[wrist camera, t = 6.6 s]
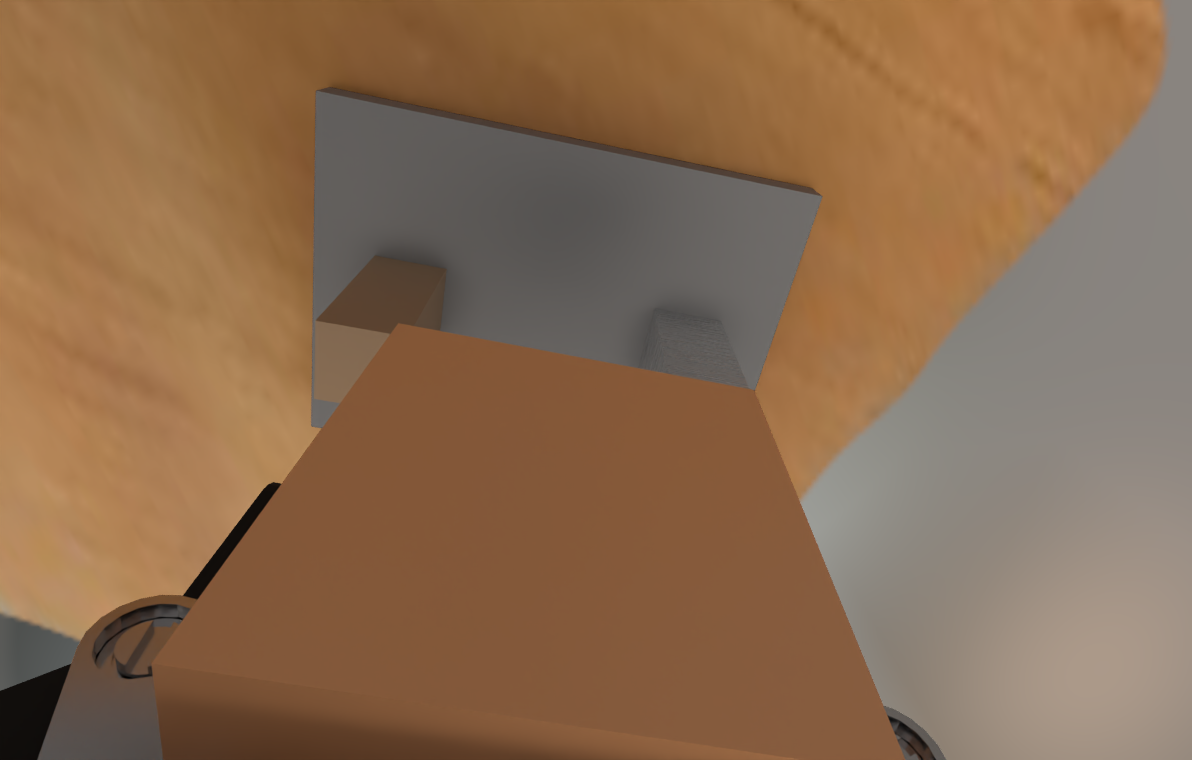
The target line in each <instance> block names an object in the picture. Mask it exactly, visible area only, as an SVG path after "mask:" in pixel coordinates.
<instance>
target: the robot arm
mask: <svg viewBox="0 0 1192 760" xmlns="http://www.w3.org/2000/svg"><path fill="white" fill-rule="evenodd" d="M280 485H281V484H280V483H274V482H273V483H271V484H268V485H267V486H266V487H265V488H264V489H263V491H262V492H261V493H260V494H259V496H258V497H257V498H256V500H255V501H254V502H253V504H252V505H251V506H250V508H249V509H248V510H247V512H246V513H245V514H244V516H243V517H242V518H241V520H240V521H239V522H238V524H237V525H236V526H235V528H234V529H233V530H232V531H231V533H230V534H229V535H228V537H227V538H226V539H225V541H224V542H223V543H222V545H221V546H220V547H219V549H218V550H217V551H216V553H215V554H214V555H213V557H212V558H211V559H210V561H209V562H208V563H207V564H206V566H205V567H204V568H203V570H202V571H201V572H200V574H199V575H198V576H197V578H196V579H195V580H194V582H193V583H192V584H191V586H190V587H189V588H188V590H187V591H186V592H185V594H184V595H183V596H181V595H159V596H153V597H148V598H142V599H138V600H136V601H133V602H130V603H128V604H125V605H122V606H120V607H118V608H116V609H115V610H113V611H111V612H110V613H108V614H106V615H105V616H103V617H101V618H100V619H99V620H98V621H97V622H96V623H95V624H94V625H93V626H92V627H91V628H90V629H88V630H87V631H86V633H85V635H84V636H83V638H82V640H81V641H80V643H79V645H78V647H77V649H76V652H75V655H74V658H73V661H72V663H71V664H70V665H67V666H64V667H62V668H59V669H57V670H54V671H51V672H49V673H46V674H43V675H41V676H38V677H35V678H33V679H30V680H28V681H25V682H22V683H20V684H17V685H15V686H12V687H9V688H7V689H4V690H1V691H0V760H163V754H162V746H161V738H160V730H159V722H158V714H157V706H156V697H155V689H154V681H153V673H152V665H151V663H152V662H153V660H154V659H155V658H156V656H157V655H158V654H159V652H160V651H161V649H162V648H163V647H164V645H165V644H166V643H167V641H168V640H169V638H170V637H171V636H172V634H173V633H174V631H175V630H176V629H177V627H178V626H179V625H180V623H181V622H182V620H183V619H184V618H185V616H186V615H187V614H188V612H189V611H190V609H191V608H192V607H193V605H194V604H195V603H196V601H197V600H198V598H199V597H200V596H201V594H202V593H203V592H204V590H205V589H206V587H207V586H208V585H209V583H210V582H211V581H212V579H213V578H214V576H215V575H216V574H217V572H218V571H219V569H220V568H221V567H222V565H223V564H224V563H225V561H226V560H227V558H228V557H229V556H230V554H231V553H232V552H233V550H234V549H235V547H236V546H237V545H238V543H239V542H240V541H241V539H242V538H243V536H244V535H245V534H246V532H247V531H248V530H249V528H250V527H251V525H252V524H253V523H254V521H255V520H256V519H257V517H258V516H259V514H260V513H261V512H262V510H263V509H264V507H265V506H266V505H267V503H268V502H269V501H270V499H271V498H272V496H273V495H274V494H275V492H276V491H277V490H278V488H279V487H280ZM884 709H885V711H886V714H887V716H888V718H889V721H890V723H891V726H892V728H893V731H894V733H895V736H896V738H897V740H898V743H899V745H900V748H901V750H902V753H903V755H904V758H905V760H946V759H945V757H944V755H943V753H942V752H941V750H940V748H939V746H938V745H937V744H936V742H935V741H934V740H933V739H932V738H931V737H930V736H929V734H928V733H927V732H926V731H925V730H924V729H923V728H921V727H920V726H919V725H918V724H917V723H915V722H914V721H913V720H912V719H910V718H909V717H907V716H905V715H903V714H902V713H900V712H898V711H896V710H894V709H892V708H889V707H886V706H884Z"/></svg>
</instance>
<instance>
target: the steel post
mask: <svg viewBox="0 0 1192 760" xmlns="http://www.w3.org/2000/svg"><path fill="white" fill-rule="evenodd" d="M639 368H640V369H645V370H650V371H656V372H661V373H666V374H672V375H677V376H682V377H688V378H693V379H698V380H704V381H709V382H714V383H720V384H725V385H730V386H736V387H741V388H746V389H749V386H748V384H747V382H746V379H745V377H744V374H743V372H742V370H741V367H740V365H739V362H738V360H737V358H736V355H735V353H734V351H733V348H732V346H731V343H730V341H729V339H728V336H727V334H726V331H725V329H724V327H723V324H722V322H721V321H720V320H715V319H710V318H704V317H699V316H694V315H688V314H683V313H678V312H672V311H667V310H662V309H656V308H654V311H653V315H652V319H651V323H650V327H649V331H648V335H647V339H646V342H645V346H644V350H643V354H642V358H641V362H640V366H639Z"/></svg>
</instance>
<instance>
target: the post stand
mask: <svg viewBox="0 0 1192 760" xmlns="http://www.w3.org/2000/svg"><path fill="white" fill-rule="evenodd" d="M821 199H822V196H821V195H820V194H819V193H817V192H816V191H815V190H814V189H812V188H808V187H804V186H799V185H794V184H789V183H785V182H780V181H775V180H770V179H766V178H761V177H756V176H751V175H746V174H742V173H737V172H732V171H727V170H723V169H718V168H713V167H708V166H703V165H699V164H694V163H689V162H684V161H680V160H675V159H670V158H665V157H660V156H656V155H651V154H646V153H641V152H637V151H632V150H627V149H622V148H618V147H613V146H608V145H603V144H598V143H594V142H589V141H584V140H579V139H575V138H570V137H565V136H560V135H555V134H551V133H546V132H541V131H536V130H532V129H527V128H522V127H517V126H512V125H508V124H503V123H498V122H493V121H489V120H484V119H479V118H474V117H469V116H465V115H460V114H455V113H450V112H446V111H441V110H436V109H431V108H427V107H422V106H417V105H412V104H407V103H403V102H398V101H393V100H388V99H384V98H379V97H374V96H369V95H364V94H360V93H355V92H350V91H345V90H341V89H336V88H331V87H328V88H324V89H321V90H317V91H316V115H315V190H314V264H313V338H312V412H311V426H312V427H318V428H323V426H324V425H325V423H326V422H327V421H328V419H329V418H330V417H331V415H332V414H333V412H334V411H335V410H336V408H337V407H338V406H339V404H340V403H341V401H342V400H343V399H344V397H345V396H346V395H347V393H348V392H349V390H350V389H351V388H352V386H353V385H354V384H355V382H356V381H357V379H358V378H359V377H360V375H361V374H362V372H363V371H364V370H365V368H366V367H367V366H368V364H369V363H370V361H371V360H372V359H373V357H374V356H375V355H376V353H377V352H378V350H379V349H380V348H381V346H382V345H383V344H384V342H385V341H386V339H387V338H388V337H389V335H390V334H391V333H392V331H393V330H394V328H395V327H396V326H397V324H398V323H400V324H405V325H411V326H416V327H421V328H427V329H432V330H437V331H443V332H448V333H453V334H459V335H464V336H469V337H475V338H480V339H485V340H491V341H496V342H501V343H507V344H512V345H517V346H523V347H528V348H533V349H539V350H544V351H549V352H554V353H560V354H565V355H570V356H576V357H581V358H586V359H592V360H597V361H602V362H608V363H613V364H618V365H624V366H629V367H634V368H639V366H640V362H641V358H642V354H643V350H644V346H645V342H646V339H647V335H648V331H649V327H650V323H651V319H652V315H653V311H654V308H656V309H662V310H667V311H672V312H678V313H683V314H688V315H694V316H699V317H704V318H710V319H715V320H720V321H721V322H722V324H723V327H724V329H725V331H726V334H727V336H728V339H729V341H730V343H731V346H732V348H733V351H734V353H735V355H736V358H737V360H738V362H739V365H740V367H741V370H742V372H743V374H744V377H745V379H746V382H747V384H748V386H749V389H752V390H754V391H755V388H756V385H757V383H758V380H759V377H760V374H761V371H762V368H763V365H764V363H765V360H766V357H767V354H768V351H769V348H770V345H771V342H772V340H773V337H774V334H775V331H776V328H777V325H778V322H779V320H780V317H781V314H782V311H783V308H784V305H785V302H786V299H787V297H788V294H789V291H790V288H791V285H792V282H793V279H794V277H795V274H796V271H797V268H798V265H799V262H800V259H801V257H802V254H803V251H804V248H805V245H806V242H807V239H808V236H809V234H810V231H811V228H812V225H813V222H814V219H815V216H816V214H817V211H818V208H819V205H820V202H821Z"/></svg>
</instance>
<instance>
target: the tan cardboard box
mask: <svg viewBox="0 0 1192 760" xmlns="http://www.w3.org/2000/svg"><path fill="white" fill-rule="evenodd" d="M151 665H152V673H153V681H154V689H155V697H156V706H157V714H158V722H159V730H160V738H161V746H162V754H163V760H905V758H904V755H903V753H902V750H901V748H900V745H899V743H898V740H897V738H896V736H895V733H894V731H893V728H892V726H891V723H890V721H889V718H888V716H887V714H886V711H885V709H884V706H883V704H882V701H881V699H880V696H879V694H878V692H877V689H876V687H875V684H874V682H873V679H872V677H871V675H870V672H869V670H868V667H867V665H866V662H865V660H864V657H863V655H862V653H861V650H860V648H859V645H858V643H857V640H856V638H855V635H854V633H853V631H852V628H851V626H850V623H849V621H848V618H847V616H846V613H845V611H844V609H843V606H842V604H841V601H840V599H839V596H838V594H837V592H836V589H835V587H834V584H833V582H832V579H831V577H830V574H829V572H828V570H827V567H826V565H825V562H824V560H823V557H822V555H821V553H820V550H819V548H818V545H817V543H816V541H815V538H814V535H813V533H812V530H811V528H810V526H809V523H808V521H807V518H806V516H805V513H804V511H803V508H802V506H801V504H800V501H799V499H798V496H797V494H796V491H795V489H794V487H793V484H792V482H791V479H790V477H789V474H788V472H787V469H786V467H785V465H784V462H783V460H782V457H781V455H780V452H779V450H778V447H777V445H776V443H775V440H774V438H773V435H772V433H771V430H770V428H769V425H768V423H767V421H766V418H765V416H764V413H763V411H762V408H761V406H760V404H759V401H758V399H757V396H756V394H755V391H754V390H752V389H746V388H741V387H736V386H730V385H725V384H720V383H714V382H709V381H704V380H698V379H693V378H688V377H682V376H677V375H672V374H666V373H661V372H656V371H650V370H645V369H640V368H634V367H629V366H624V365H618V364H613V363H608V362H602V361H597V360H592V359H586V358H581V357H576V356H570V355H565V354H560V353H554V352H549V351H544V350H539V349H533V348H528V347H523V346H517V345H512V344H507V343H501V342H496V341H491V340H485V339H480V338H475V337H469V336H464V335H459V334H453V333H448V332H443V331H437V330H432V329H427V328H421V327H416V326H411V325H405V324H400V323H398V324H397V326H396V327H395V328H394V330H393V331H392V333H391V334H390V335H389V337H388V338H387V339H386V341H385V342H384V344H383V345H382V346H381V348H380V349H379V350H378V352H377V353H376V355H375V356H374V357H373V359H372V360H371V361H370V363H369V364H368V366H367V367H366V368H365V370H364V371H363V372H362V374H361V375H360V377H359V378H358V379H357V381H356V382H355V384H354V385H353V386H352V388H351V389H350V390H349V392H348V393H347V395H346V396H345V397H344V399H343V400H342V401H341V403H340V404H339V406H338V407H337V408H336V410H335V411H334V412H333V414H332V415H331V417H330V418H329V419H328V421H327V422H326V423H325V425H324V426H323V428H322V429H321V430H320V432H319V433H318V434H317V436H316V437H315V439H314V440H313V441H312V443H311V444H310V446H309V447H308V448H307V450H306V451H305V452H304V454H303V455H302V457H301V458H300V459H299V461H298V462H297V463H296V465H295V466H294V468H293V469H292V470H291V472H290V473H289V474H288V476H287V477H286V479H285V480H284V481H283V483H282V484H281V485H280V487H279V488H278V490H277V491H276V492H275V494H274V495H273V496H272V498H271V499H270V501H269V502H268V503H267V505H266V506H265V507H264V509H263V510H262V512H261V513H260V514H259V516H258V517H257V519H256V520H255V521H254V523H253V524H252V525H251V527H250V528H249V530H248V531H247V532H246V534H245V535H244V536H243V538H242V539H241V541H240V542H239V543H238V545H237V546H236V547H235V549H234V550H233V552H232V553H231V554H230V556H229V557H228V558H227V560H226V561H225V563H224V564H223V565H222V567H221V568H220V569H219V571H218V572H217V574H216V575H215V576H214V578H213V579H212V581H211V582H210V583H209V585H208V586H207V587H206V589H205V590H204V592H203V593H202V594H201V596H200V597H199V598H198V600H197V601H196V603H195V604H194V605H193V607H192V608H191V609H190V611H189V612H188V614H187V615H186V616H185V618H184V619H183V620H182V622H181V623H180V625H179V626H178V627H177V629H176V630H175V631H174V633H173V634H172V636H171V637H170V638H169V640H168V641H167V643H166V644H165V645H164V647H163V648H162V649H161V651H160V652H159V654H158V655H157V656H156V658H155V659H154V660H153V662H152V663H151Z"/></svg>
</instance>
